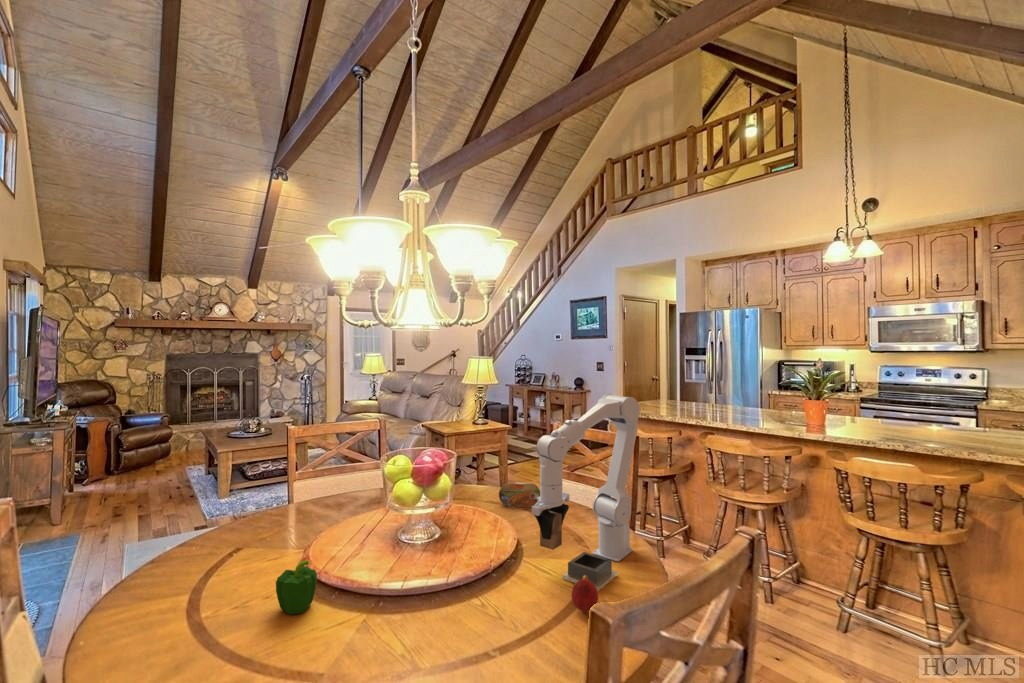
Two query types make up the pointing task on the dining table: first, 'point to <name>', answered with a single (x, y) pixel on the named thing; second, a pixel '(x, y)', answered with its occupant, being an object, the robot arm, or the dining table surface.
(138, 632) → the dining table surface
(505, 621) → the dining table surface
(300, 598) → the bell pepper
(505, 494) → the tin
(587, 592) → the onion
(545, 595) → the dining table surface
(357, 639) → the dining table surface
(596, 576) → the grey square socket
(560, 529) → the rail post
